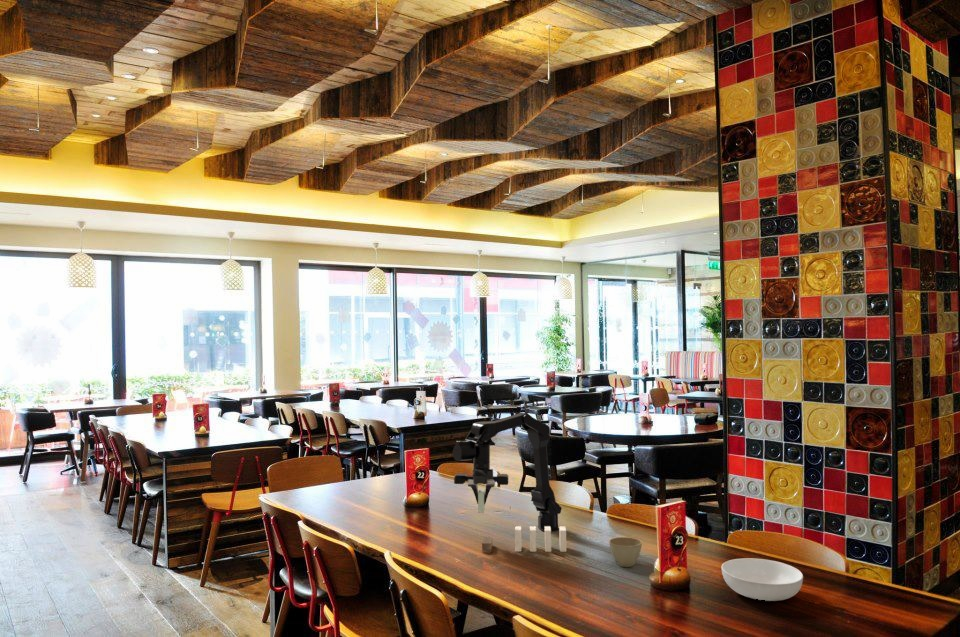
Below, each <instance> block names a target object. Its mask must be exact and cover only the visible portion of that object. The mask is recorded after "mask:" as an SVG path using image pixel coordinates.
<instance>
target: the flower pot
mask: <svg viewBox="0 0 960 637" xmlns="http://www.w3.org/2000/svg"><path fill="white" fill-rule="evenodd" d="M608 543H609V547H610V551H611V553H612V557H613V558H614V560H615V562H616V564H618V566H620V567H623V568H624V567H626V568H629V567H633V566H635V564H636V563H637V561H638V559H639V556H640V553H641V550H642V544H643V543H642V540H640V539H637V538H635V537H627V536H626V537H625V536H621V537H620V536H618V537H614V538H613V537H612V538H611V539H609V542H608Z"/></svg>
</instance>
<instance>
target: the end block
mask: <svg viewBox="0 0 960 637" xmlns="http://www.w3.org/2000/svg"><path fill="white" fill-rule="evenodd" d="M481 542H482V543H481V552H482V553H492V550H493V536H482V541H481Z"/></svg>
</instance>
